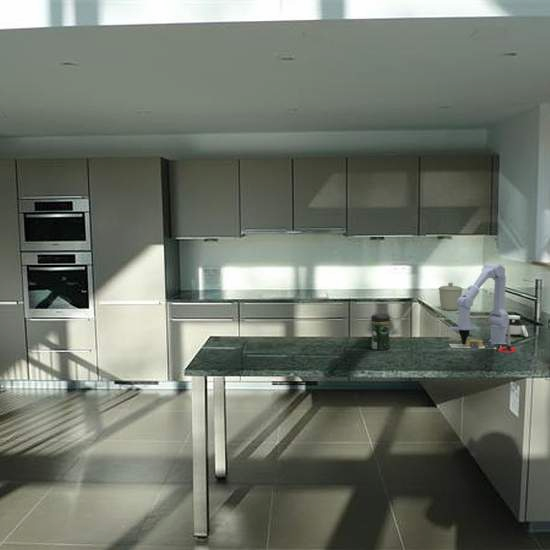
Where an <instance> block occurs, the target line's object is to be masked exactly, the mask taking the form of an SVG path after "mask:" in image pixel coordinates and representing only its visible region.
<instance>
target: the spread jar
mask: <svg viewBox="0 0 550 550" xmlns="http://www.w3.org/2000/svg"><path fill="white" fill-rule="evenodd" d="M508 318H509V324H508V326H510V336H514V337H513V338H516V337H515V336H519V337H521V336H522V333H523V335H524V337H525V338H528V337H529V334H528V330H527V327H526V326H525V325H523V324H522V321H521V316H520V315H516V314H514V315H512V314H508ZM508 326H507V328H506V335H505V336H506V337H508Z"/></svg>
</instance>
